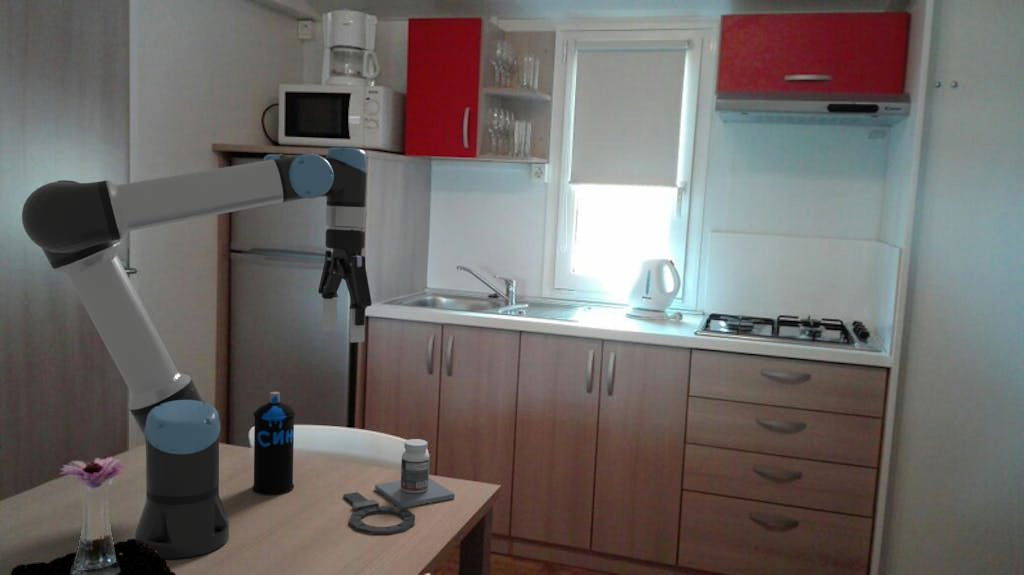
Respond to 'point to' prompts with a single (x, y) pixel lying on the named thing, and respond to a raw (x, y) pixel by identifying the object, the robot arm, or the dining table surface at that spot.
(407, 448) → the pill bottle
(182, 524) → the robot arm
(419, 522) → the dining table surface
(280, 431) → the aerosol can
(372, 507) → the iron eye
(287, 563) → the dining table surface
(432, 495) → the slate trivet
